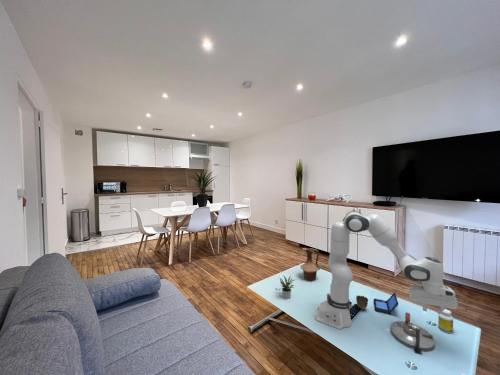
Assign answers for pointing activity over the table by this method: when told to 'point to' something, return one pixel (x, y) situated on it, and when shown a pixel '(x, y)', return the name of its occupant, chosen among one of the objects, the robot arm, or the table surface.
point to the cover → (409, 329)
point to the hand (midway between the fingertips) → (432, 312)
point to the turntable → (398, 332)
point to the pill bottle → (445, 321)
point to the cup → (362, 302)
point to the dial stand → (417, 339)
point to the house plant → (286, 287)
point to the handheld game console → (386, 305)
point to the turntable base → (411, 346)
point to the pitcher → (310, 265)
